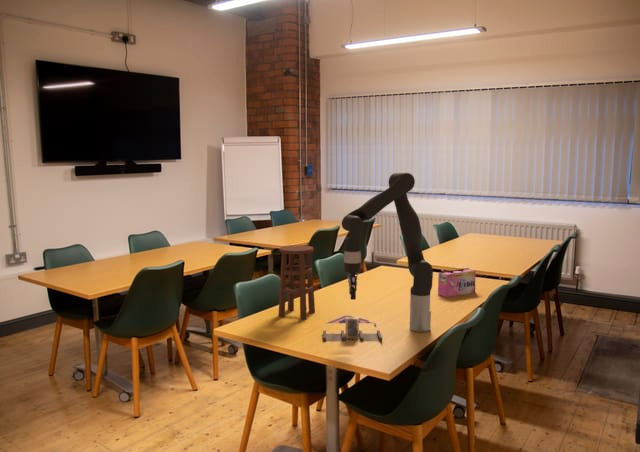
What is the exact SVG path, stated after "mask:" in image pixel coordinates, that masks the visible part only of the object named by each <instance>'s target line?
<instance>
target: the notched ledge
mask: <svg viewBox="0 0 640 452" xmlns="http://www.w3.org/2000/svg"><path fill="white" fill-rule="evenodd" d="M344 331H345V330H341V331H340V333H327V330H322V340H323V342H379V343H380V344H383V335H382V334H381V331H380V330H376V333H371V332H370V333H363V331H362V330H361V329H359V339H346V333H345V332H344Z"/></svg>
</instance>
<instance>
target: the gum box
mask: <svg viewBox="0 0 640 452" xmlns="http://www.w3.org/2000/svg"><path fill="white" fill-rule="evenodd" d="M437 277H438V278H437V280H438V283H437V295H439V296H441V297H444V296H445V297H444V298H449V297H450V298H451V297H457V296H461V295H467V294H468V295H469V294H474V293H476V270H471V269H470V268H468V267H467V268H460V269H459V268H458V269H453V270H445V271H439V272H438V276H437Z"/></svg>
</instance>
